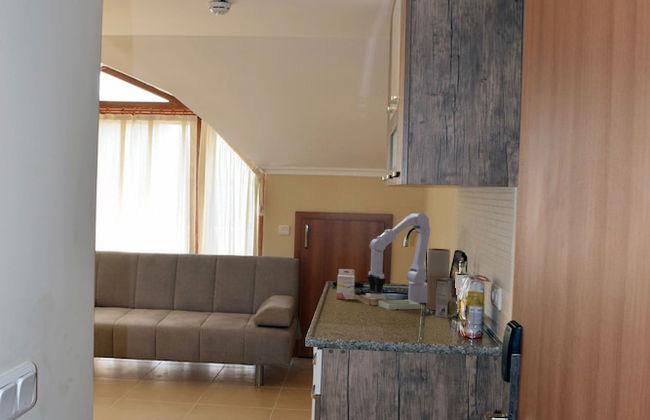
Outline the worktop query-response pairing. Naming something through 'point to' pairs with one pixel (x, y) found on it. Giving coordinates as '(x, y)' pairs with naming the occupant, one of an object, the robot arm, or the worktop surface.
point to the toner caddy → (375, 295)
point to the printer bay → (370, 300)
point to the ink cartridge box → (345, 284)
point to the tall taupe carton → (436, 273)
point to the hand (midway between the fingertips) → (375, 291)
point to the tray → (399, 304)
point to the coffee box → (446, 298)
